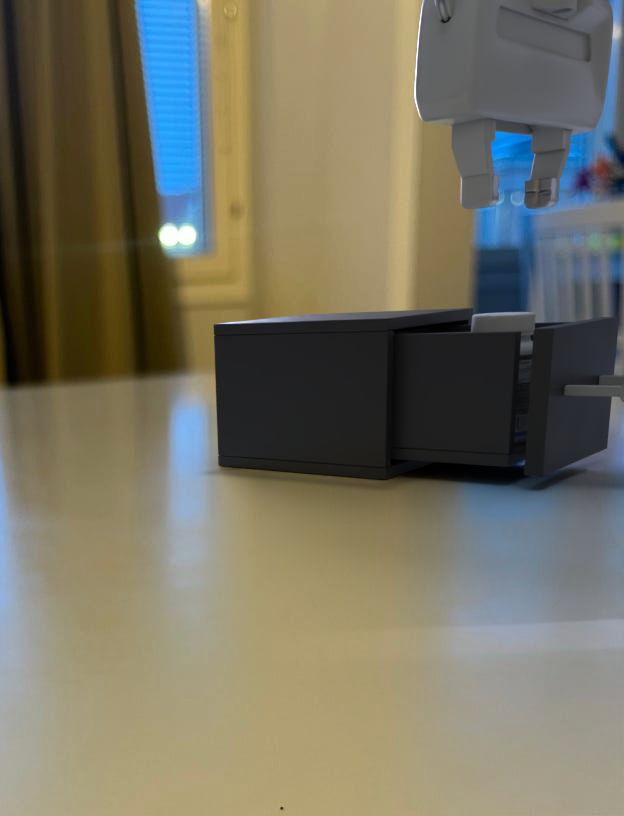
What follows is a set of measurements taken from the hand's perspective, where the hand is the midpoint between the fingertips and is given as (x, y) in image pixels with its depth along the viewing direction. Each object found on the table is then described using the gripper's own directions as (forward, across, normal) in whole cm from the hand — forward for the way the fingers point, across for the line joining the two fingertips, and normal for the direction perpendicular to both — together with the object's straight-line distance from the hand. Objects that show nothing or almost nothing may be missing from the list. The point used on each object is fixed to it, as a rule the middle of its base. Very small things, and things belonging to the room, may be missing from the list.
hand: (511, 208), depth 64 cm
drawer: (+16, 0, -1) cm, 16 cm away
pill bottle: (+15, 0, 0) cm, 15 cm away
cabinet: (+17, 0, +12) cm, 21 cm away
